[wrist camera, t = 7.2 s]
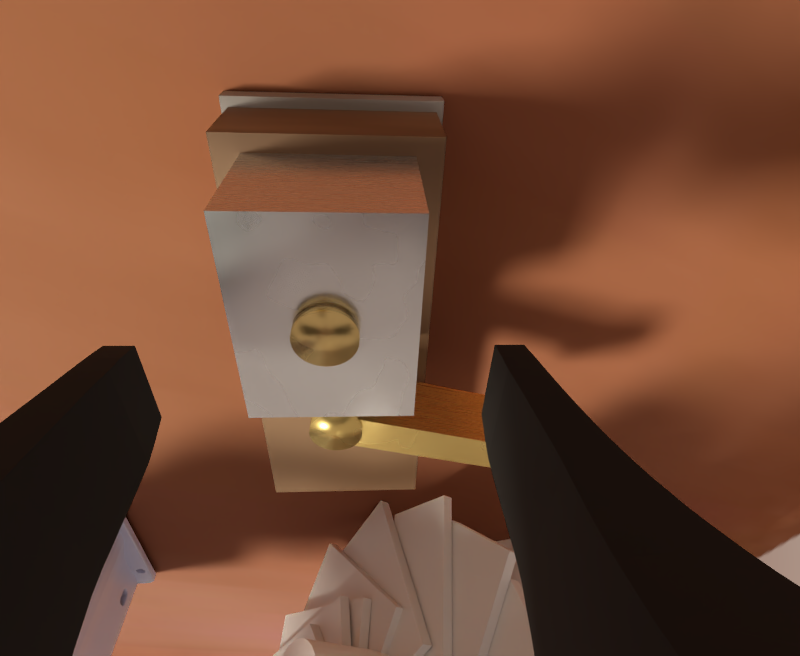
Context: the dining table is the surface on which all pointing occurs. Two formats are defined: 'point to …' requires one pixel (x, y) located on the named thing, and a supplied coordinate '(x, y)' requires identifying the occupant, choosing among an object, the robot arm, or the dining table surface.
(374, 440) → the lever
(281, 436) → the tan flat board
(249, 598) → the dining table surface
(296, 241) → the white block with knob
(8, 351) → the dining table surface
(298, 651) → the spiral staircase
